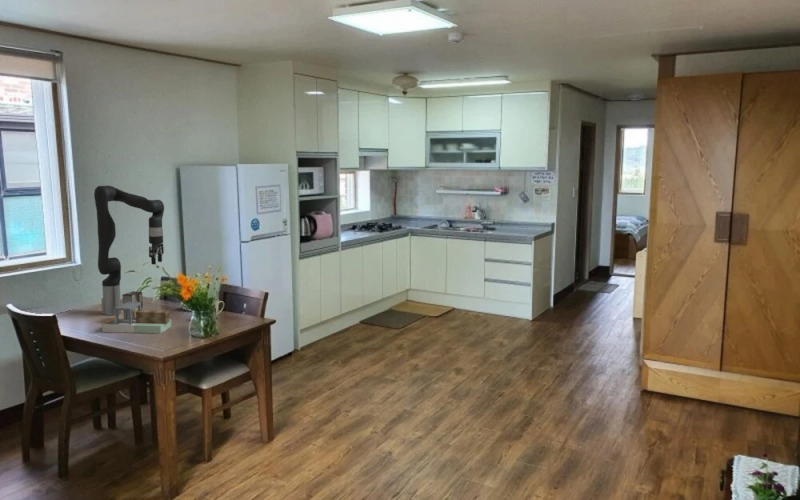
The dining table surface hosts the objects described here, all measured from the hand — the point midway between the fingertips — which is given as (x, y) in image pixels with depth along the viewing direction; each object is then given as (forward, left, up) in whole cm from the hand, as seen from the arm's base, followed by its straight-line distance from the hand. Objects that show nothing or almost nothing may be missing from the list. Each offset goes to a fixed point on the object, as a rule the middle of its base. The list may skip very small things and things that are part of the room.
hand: (156, 263), depth 332 cm
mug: (+32, -2, -32) cm, 46 cm away
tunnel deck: (-1, -24, -32) cm, 40 cm away
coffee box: (-11, -8, -32) cm, 35 cm away
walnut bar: (+7, -24, -28) cm, 38 cm away
